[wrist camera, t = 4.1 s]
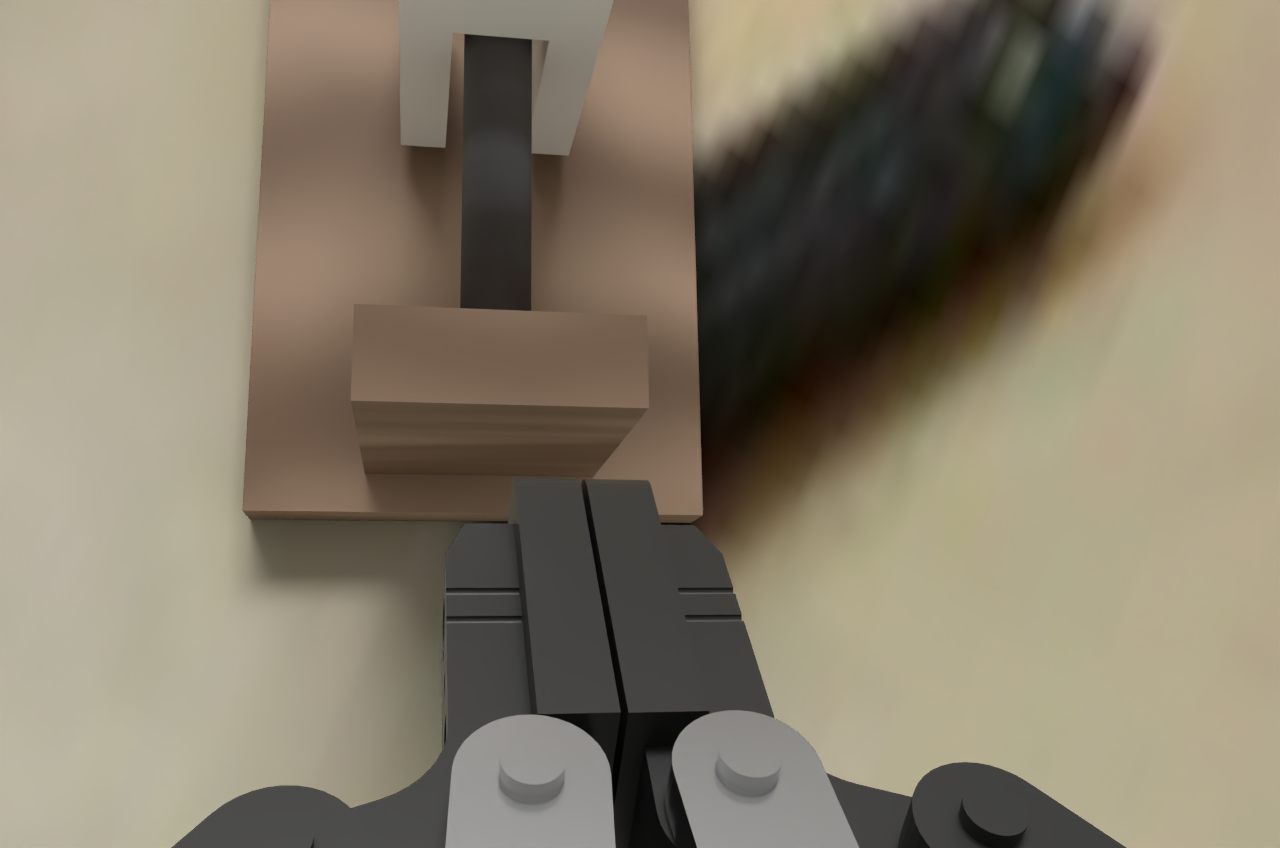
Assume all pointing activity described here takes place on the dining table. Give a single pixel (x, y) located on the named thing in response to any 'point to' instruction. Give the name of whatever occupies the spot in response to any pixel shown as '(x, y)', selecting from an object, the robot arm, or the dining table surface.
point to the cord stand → (470, 276)
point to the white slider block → (504, 7)
